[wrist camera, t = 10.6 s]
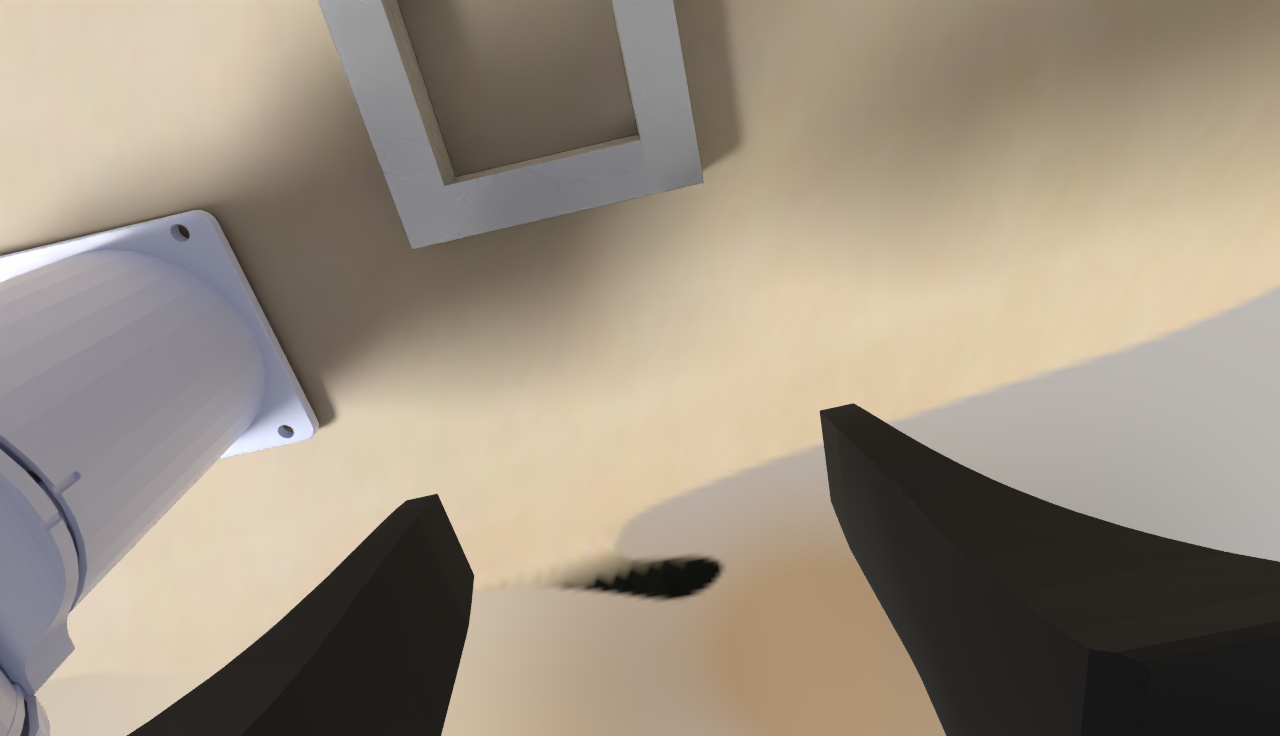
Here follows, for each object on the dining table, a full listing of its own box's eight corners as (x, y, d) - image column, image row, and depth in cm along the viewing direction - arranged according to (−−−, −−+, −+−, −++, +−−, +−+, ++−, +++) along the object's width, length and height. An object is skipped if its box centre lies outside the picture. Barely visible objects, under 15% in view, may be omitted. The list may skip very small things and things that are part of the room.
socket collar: (425, 236, 20) (412, 249, 19) (305, -91, 16) (277, -105, 15) (696, 173, 20) (704, 182, 18) (636, -177, 16) (639, -199, 15)
